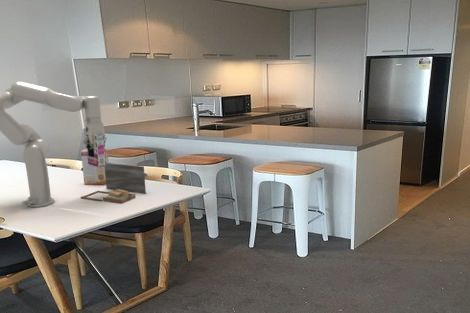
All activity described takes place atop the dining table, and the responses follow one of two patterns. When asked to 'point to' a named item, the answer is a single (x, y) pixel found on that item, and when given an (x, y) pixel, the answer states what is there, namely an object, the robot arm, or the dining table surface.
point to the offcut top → (118, 193)
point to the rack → (122, 181)
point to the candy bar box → (98, 151)
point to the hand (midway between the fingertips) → (96, 155)
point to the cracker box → (93, 171)
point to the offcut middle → (116, 197)
